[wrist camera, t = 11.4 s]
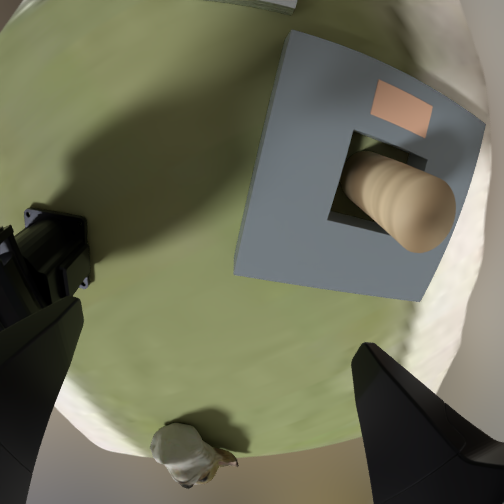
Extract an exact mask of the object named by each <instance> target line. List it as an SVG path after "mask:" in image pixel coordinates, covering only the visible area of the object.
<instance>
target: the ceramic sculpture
mask: <svg viewBox="0 0 504 504" xmlns="http://www.w3.org/2000/svg"><path fill="white" fill-rule="evenodd" d="M150 449H151V451H152V455H153V457H154V458H155V460H156V461H157V462H159V463H161V464H164V465H165V466H166V468H167V470H168V471H169V472H170V474H171V476H172V478H173V479H174V480H175V481H176V482H177V483H179V484H180V485H181V486H182V487H184V488H188V489H189V488H191V487H192V486H193V485H194V484H205V483H208V482H209V481H211V480H212V479H213V477H214V476H215V474H216V472H217V469H218V468H219V466H220V467H224V466H228V465H231V466H237V467H238V462H237V459H236V457H235V456H234V455H233V454H232V453H230V452H229V451H226V450H223V449H219V448H213V447H212V446H210V445H209V444H207V443H206V442H204V441H202V438H201V436H200V434H199V433H198V431H197V430H196V429H195V428H194V427H193V426H191V425H185V424H181V423H172V424H170V425H167V426H164V427H162V428H160V429H159V430H158V431H157V432H156V433H155V434H154V436H153V439H152V442H151V446H150Z"/></svg>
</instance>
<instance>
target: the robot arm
mask: <svg viewBox="0 0 504 504" xmlns="http://www.w3.org/2000/svg"><path fill="white" fill-rule="evenodd" d="M29 213H30V215H29ZM24 218H25V228H24V229H23V230H22V231H20V232H19V233H18V234H16V235H15V236H14V235H13V232H14V231H13V228H12V226H11V225H9V226H6V227H4V228H3V226H2V227H0V504H26V500H27V495H28V491H29V486H30V482H31V478H32V473H33V470H34V466H35V462H36V459H37V455H38V452H39V448H40V445H41V442H42V439H43V436H44V433H45V430H46V427H47V424H48V421H49V418H50V415H51V412H52V410H53V407H54V404H55V402H56V399H57V396H58V394H59V391H60V389H61V386H62V384H63V381H64V379H65V377H66V374H67V372H68V369H69V367H70V364H71V361H72V358H73V355H74V351H75V348H76V345H77V342H78V339H79V336H80V333H81V330H82V327H83V323H84V318H83V312H82V305H81V301H80V299H79V298H76V297H73V295H74V293H75V292H76V290H77V289H78V288H83V289H86V288H87V287H88V286H89V285H90V279H89V273H90V256H89V245H88V243H87V222H86V219H85V218H84V217H82V216H78V215H72V214H66V213H60V212H54V211H49V210H43V209H37V208H31V207H30V208H27V209H26V210H25V211H24ZM79 221H80V222H81V223H82V225H80V224H79ZM83 282H85V284H84V283H83ZM351 368H352V376H353V384H354V393H355V401H356V407H357V412H358V417H359V422H360V427H361V432H362V437H363V442H364V447H365V453H366V458H367V464H368V470H369V476H370V482H371V489H372V495H373V502H374V504H504V443H503V442H499V441H496V440H494V439H493V438H491V437H490V436H488V435H487V434H485V433H484V432H483V431H481V430H480V429H478V428H477V427H476V426H474V425H473V424H471V423H470V422H469V421H467V420H466V419H465V418H463V417H462V416H461V415H460V414H458V413H457V412H456V411H455V410H453V409H452V408H451V407H450V406H449V405H448V404H446V403H444V401H443V400H442V399H440V398H439V397H438V396H437V395H436V394H435V393H433V392H432V391H431V390H430V389H429V388H427V387H426V386H425V385H424V384H423V383H421V382H420V381H419V380H418V379H417V378H416V377H414V376H413V375H412V374H411V373H410V372H408V371H407V370H406V369H405V368H404V367H402V366H401V365H400V364H399V363H398V362H396V361H395V360H394V359H393V358H392V357H391V356H389V355H388V354H387V353H386V352H385V351H383V350H382V349H381V348H380V347H379V346H377V345H376V344H375V343H369V342H364V343H362V344H361V346H360V347H359V349H358V351H357V352H356V354H355V356H354V357H353V359H352V363H351Z"/></svg>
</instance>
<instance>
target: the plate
mask: <svg viewBox="0 0 504 504" xmlns="http://www.w3.org/2000/svg"><path fill="white" fill-rule="evenodd" d="M205 1H215V2H224V3H231V4H238V5H244V6H250V7H255V8H260V9H265V10H270V11H274V12H279V13H283V14H287V15H292V13H293V11H294V10H295V7H296V4H297V0H205Z"/></svg>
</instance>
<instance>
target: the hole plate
mask: <svg viewBox="0 0 504 504" xmlns="http://www.w3.org/2000/svg"><path fill="white" fill-rule="evenodd" d="M485 126H486V124H485V123H484V122H482V121H481V120H480V119H478V118H477V117H476V116H474V115H473V114H471V113H470V112H469V111H467V110H466V109H464V108H463V107H461V106H460V105H458V104H457V103H455V102H454V101H452V100H451V99H449V98H448V97H446V96H445V95H443V94H441V93H440V92H438V91H436V90H435V89H433V88H431V87H430V86H428V85H426V84H424V83H423V82H421V81H419V80H417V79H415V78H414V77H412V76H410V75H408V74H406V73H404V72H402V71H400V70H398V69H396V68H394V67H392V66H390V65H388V64H386V63H383V62H381V61H379V60H377V59H375V58H372V57H370V56H368V55H365V54H363V53H360V52H358V51H355V50H353V49H350V48H348V47H345V46H342V45H340V44H337V43H334V42H331V41H328V40H325V39H322V38H319V37H316V36H313V35H309V34H306V33H303V32H299V31H295V30H291V31H290V33H289V34H288V36H287V37H286V39H285V41H284V45H283V49H282V53H281V57H280V61H279V65H278V69H277V73H276V77H275V81H274V85H273V89H272V93H271V98H270V102H269V106H268V110H267V114H266V118H265V122H264V127H263V131H262V135H261V139H260V144H259V148H258V152H257V156H256V161H255V165H254V169H253V174H252V178H251V183H250V187H249V191H248V196H247V200H246V205H245V209H244V214H243V218H242V223H241V227H240V232H239V236H238V241H237V245H236V250H235V255H234V275H238V276H244V277H251V278H257V279H263V280H269V281H275V282H282V283H288V284H294V285H301V286H307V287H314V288H321V289H328V290H334V291H341V292H348V293H355V294H363V295H370V296H377V297H385V298H392V299H400V300H408V301H416V302H420V301H421V299H422V297H423V295H424V294H425V292H426V290H427V288H428V286H429V284H430V282H431V280H432V278H433V276H434V274H435V272H436V270H437V267H438V265H439V263H440V261H441V259H442V257H443V254H444V252H445V250H446V248H447V245H448V243H449V241H450V238H451V236H452V233H453V231H454V228H455V226H456V223H457V221H458V218H459V215H460V213H461V210H462V207H463V204H464V202H465V199H466V196H467V193H468V190H469V187H470V183H471V180H472V177H473V174H474V170H475V167H476V163H477V159H478V156H479V152H480V148H481V144H482V139H483V135H484V130H485ZM353 132H356V133H359V134H362V135H365V136H367V137H370V138H373V139H375V140H378V141H380V142H383V143H386V144H388V145H391V146H393V147H395V148H398V149H400V150H403V151H405V152H407V153H410V154H409V157H408V161H407V165H409V166H412V167H414V168H417V169H419V170H422V171H424V172H426V173H429V174H431V175H433V176H436V177H438V178H440V179H442V180H444V181H445V182H446V183H447V184H448V185H449V186H450V188H451V189H452V191H453V193H454V197H455V201H456V214H455V219H454V223H453V226H452V228H451V230H450V232H449V234H448V235H447V237H446V238H445V239H444V240H443V241H442V242H441V243H440V244H439V245H438V246H437V247H435V248H434V249H432V250H430V251H427V252H424V253H413V252H410V251H408V250H406V249H405V248H404V247H403V246H402V245H401V244H399V243H398V242H397V241H396V240H395V239H394V238H393V237H392V236H391V235H390V234H389V233H388V232H387V231H385V230H384V229H383V228H382V227H381V226H380V225H379V224H378V223H376V222H372V221H368V220H364V219H361V218H357V217H353V216H349V215H345V214H341V213H337V212H333V211H330V209H331V206H332V203H333V199H334V196H335V193H336V190H337V186H338V183H339V180H340V176H341V173H342V169H343V166H344V162H345V159H346V155H347V152H348V148H349V145H350V141H351V137H352V133H353Z"/></svg>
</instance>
